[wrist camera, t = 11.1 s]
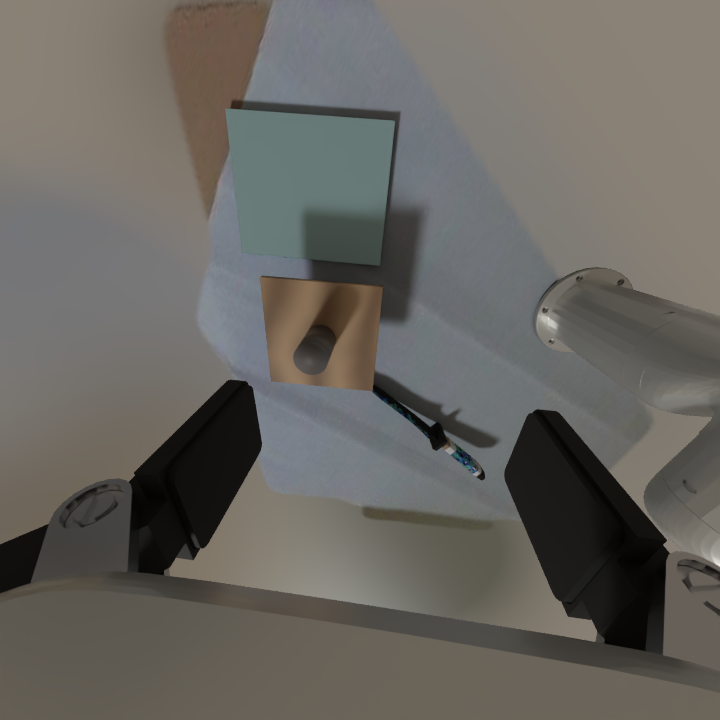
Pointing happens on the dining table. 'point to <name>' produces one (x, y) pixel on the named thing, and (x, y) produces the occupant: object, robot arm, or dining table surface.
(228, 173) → the dining table surface
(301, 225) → the mat
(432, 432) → the knife
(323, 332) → the lid
